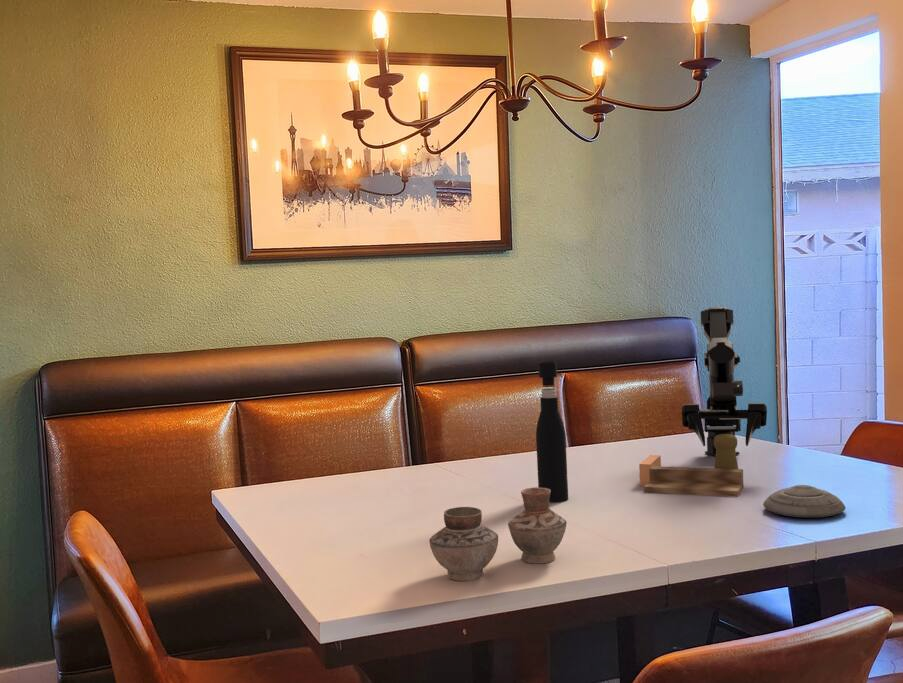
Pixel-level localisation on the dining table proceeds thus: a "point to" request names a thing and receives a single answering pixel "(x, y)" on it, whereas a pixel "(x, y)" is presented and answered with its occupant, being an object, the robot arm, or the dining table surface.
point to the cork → (725, 451)
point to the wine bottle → (551, 438)
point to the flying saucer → (804, 502)
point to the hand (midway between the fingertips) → (725, 445)
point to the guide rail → (689, 479)
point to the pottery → (474, 545)
